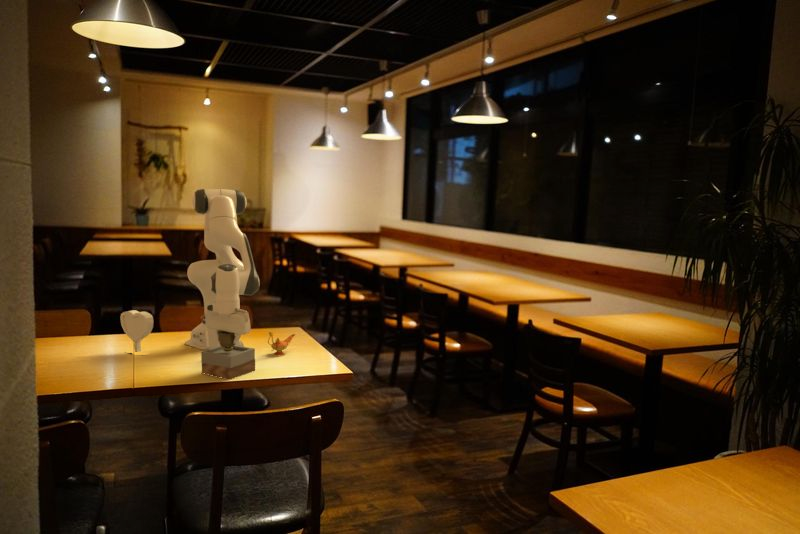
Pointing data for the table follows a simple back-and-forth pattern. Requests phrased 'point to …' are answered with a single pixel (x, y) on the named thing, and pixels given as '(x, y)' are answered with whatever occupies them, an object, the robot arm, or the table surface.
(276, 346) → the magic lamp
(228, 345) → the cup
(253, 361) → the tower block low
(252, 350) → the tower block high
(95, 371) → the table surface
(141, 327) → the heart sculpture
